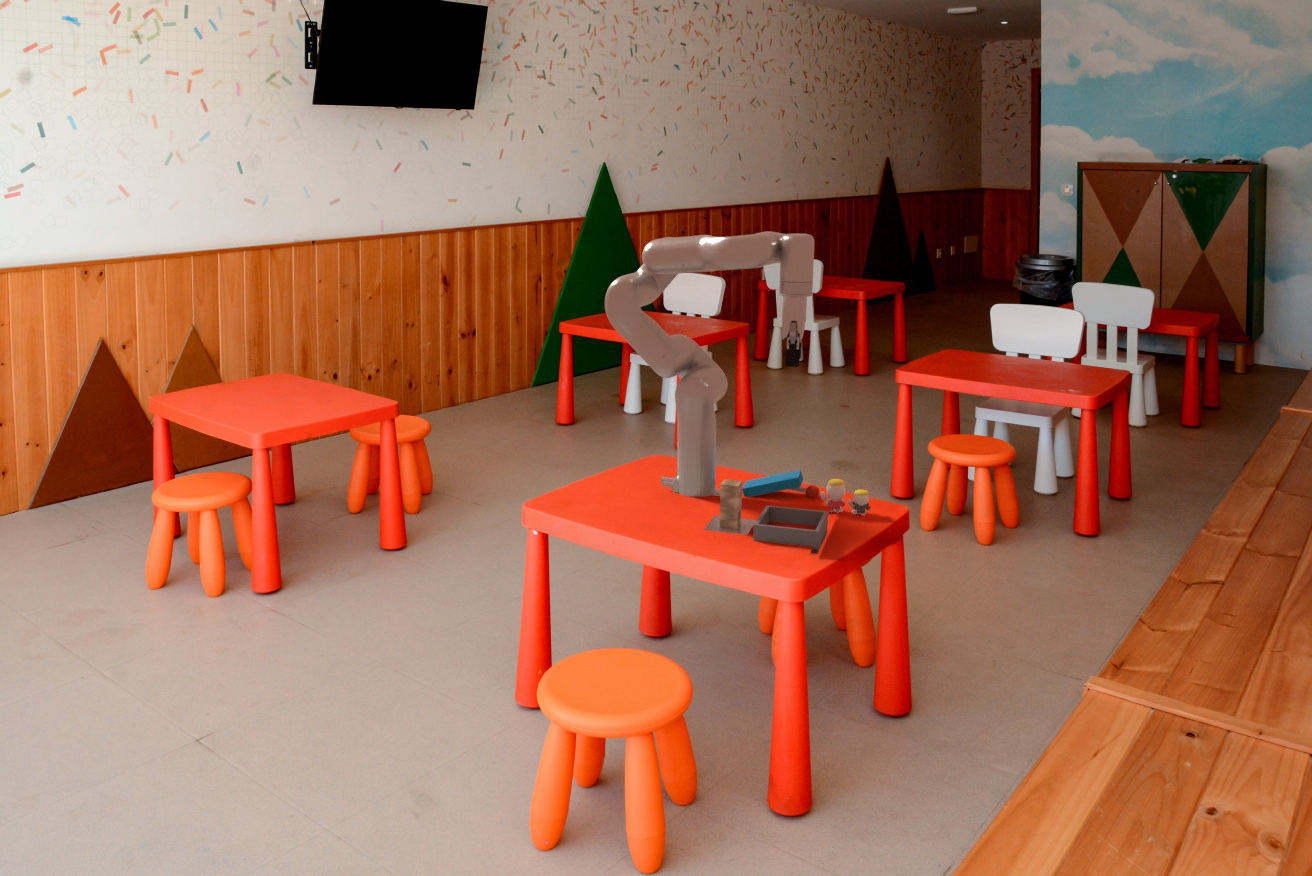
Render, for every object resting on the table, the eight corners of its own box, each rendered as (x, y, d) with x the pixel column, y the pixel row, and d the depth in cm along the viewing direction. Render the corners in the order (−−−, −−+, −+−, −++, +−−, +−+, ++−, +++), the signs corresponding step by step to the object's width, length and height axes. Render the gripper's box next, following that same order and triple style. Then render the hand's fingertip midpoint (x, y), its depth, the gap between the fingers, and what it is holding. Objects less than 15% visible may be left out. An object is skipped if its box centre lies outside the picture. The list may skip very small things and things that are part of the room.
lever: (748, 515, 265) (819, 501, 260) (742, 488, 264) (812, 474, 259) (752, 506, 272) (821, 493, 267) (746, 480, 270) (815, 466, 265)
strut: (719, 526, 238) (720, 484, 235) (723, 521, 242) (724, 479, 239) (737, 528, 237) (738, 486, 234) (741, 523, 241) (742, 480, 238)
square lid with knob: (703, 536, 237) (703, 517, 235) (714, 521, 246) (714, 504, 245) (747, 541, 234) (747, 522, 233) (756, 526, 243) (757, 508, 242)
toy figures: (870, 512, 253) (872, 478, 251) (870, 518, 249) (872, 484, 247) (820, 508, 256) (821, 475, 254) (818, 514, 252) (820, 480, 250)
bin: (753, 546, 230) (753, 524, 229) (766, 525, 243) (766, 505, 242) (817, 553, 226) (818, 531, 225) (827, 532, 239) (828, 511, 238)
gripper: (781, 284, 251) (778, 355, 256) (777, 293, 235) (774, 369, 239) (813, 284, 250) (810, 356, 254) (811, 293, 233) (808, 370, 238)
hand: (793, 362), depth 247 cm, fingers open, 9 cm apart
